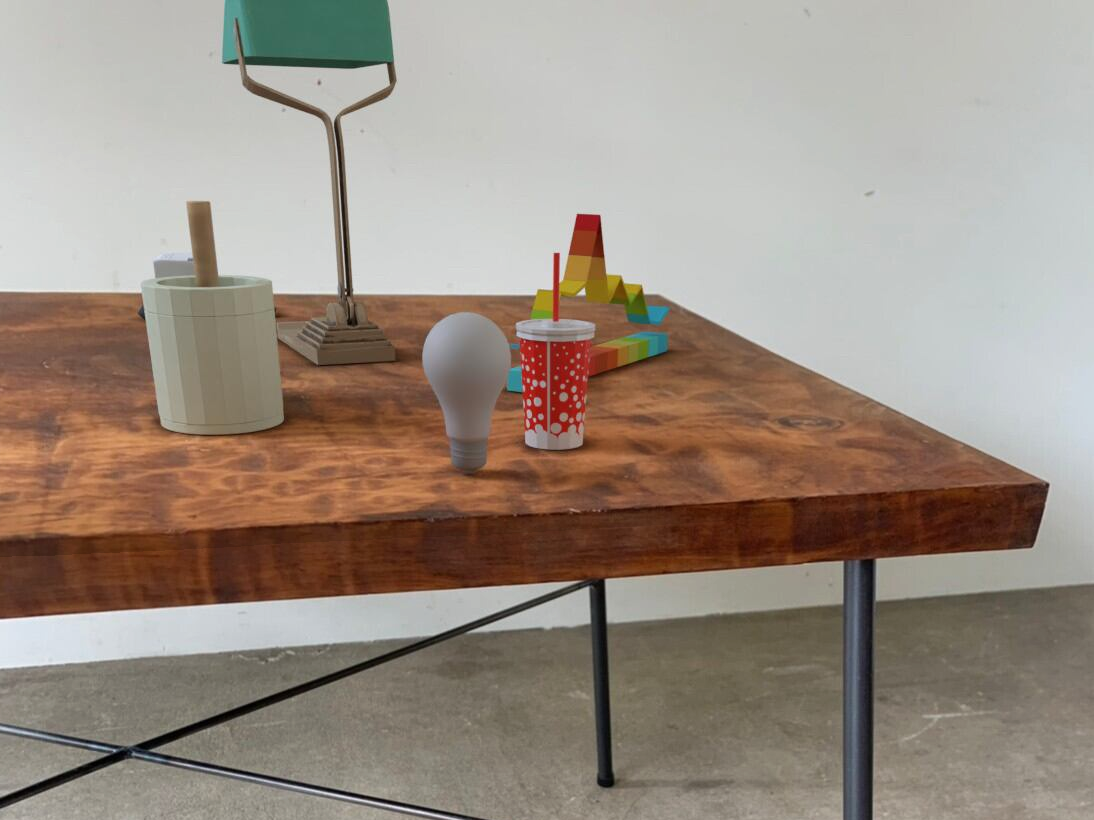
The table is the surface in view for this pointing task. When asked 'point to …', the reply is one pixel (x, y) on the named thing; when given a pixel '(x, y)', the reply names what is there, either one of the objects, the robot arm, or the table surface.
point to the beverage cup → (554, 376)
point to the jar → (214, 354)
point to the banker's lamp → (326, 42)
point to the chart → (601, 288)
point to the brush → (202, 243)
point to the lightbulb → (467, 381)
